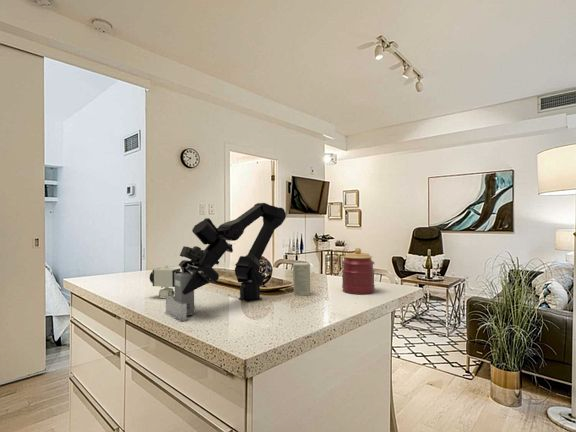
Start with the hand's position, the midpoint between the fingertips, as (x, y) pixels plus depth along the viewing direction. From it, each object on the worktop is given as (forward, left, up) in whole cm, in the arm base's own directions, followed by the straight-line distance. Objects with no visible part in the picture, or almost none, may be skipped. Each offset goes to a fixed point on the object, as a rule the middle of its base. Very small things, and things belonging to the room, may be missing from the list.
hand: (179, 292), depth 102 cm
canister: (-69, +14, -7) cm, 70 cm away
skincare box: (-48, +3, -7) cm, 48 cm away
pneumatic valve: (-6, -27, -7) cm, 29 cm away
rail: (+1, 0, -7) cm, 7 cm away
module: (-2, 0, -7) cm, 7 cm away
